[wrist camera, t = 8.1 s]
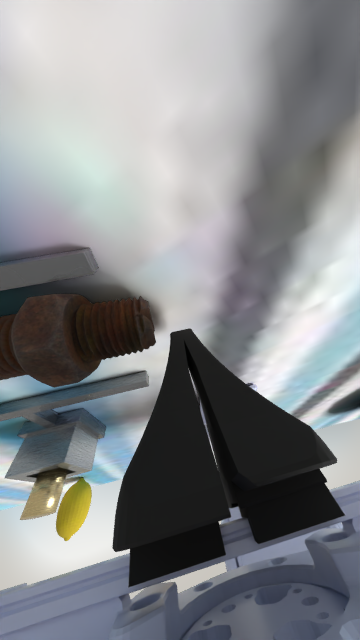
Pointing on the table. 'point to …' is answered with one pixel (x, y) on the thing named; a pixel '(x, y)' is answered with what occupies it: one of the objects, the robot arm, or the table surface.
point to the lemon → (73, 509)
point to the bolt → (71, 336)
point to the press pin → (45, 494)
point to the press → (45, 424)
